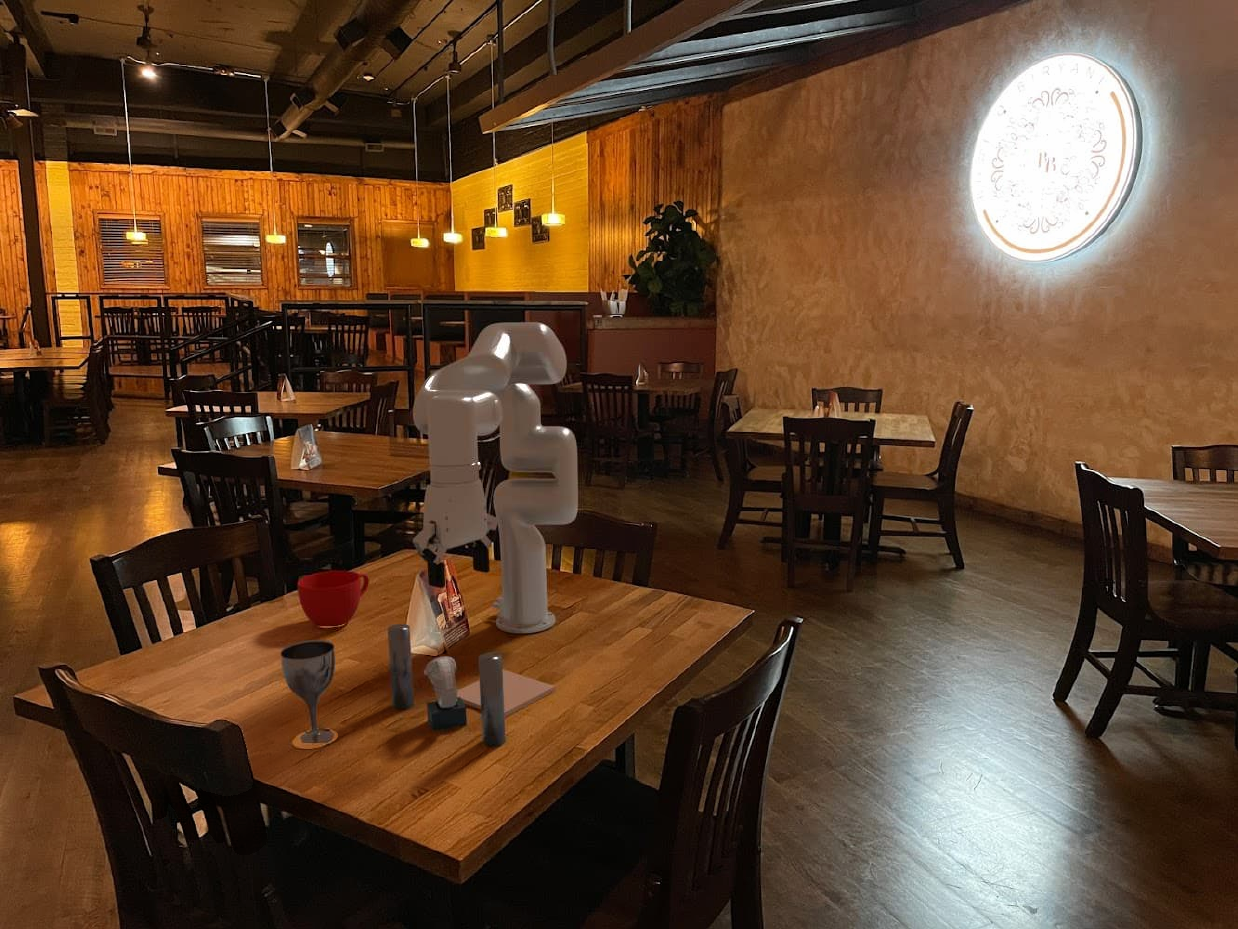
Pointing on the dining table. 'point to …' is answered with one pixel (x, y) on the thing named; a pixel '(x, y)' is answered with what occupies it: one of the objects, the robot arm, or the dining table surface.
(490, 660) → the metal post
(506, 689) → the terracotta tile
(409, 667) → the metal post
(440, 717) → the watch
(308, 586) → the ceramic cup
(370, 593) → the dining table surface
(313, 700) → the wine glass
